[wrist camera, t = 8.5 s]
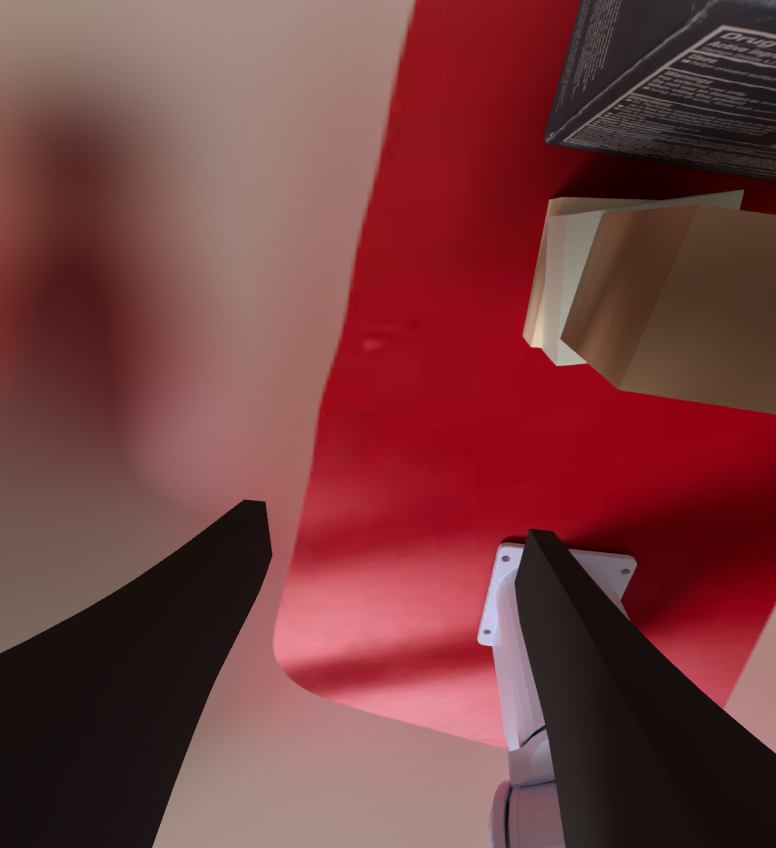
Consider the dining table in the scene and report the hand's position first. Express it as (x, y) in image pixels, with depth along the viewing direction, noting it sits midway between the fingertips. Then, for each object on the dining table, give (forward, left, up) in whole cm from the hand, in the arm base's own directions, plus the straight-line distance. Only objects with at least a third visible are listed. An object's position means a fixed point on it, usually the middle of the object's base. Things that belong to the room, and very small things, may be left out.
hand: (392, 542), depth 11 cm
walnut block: (+6, -7, -6) cm, 12 cm away
